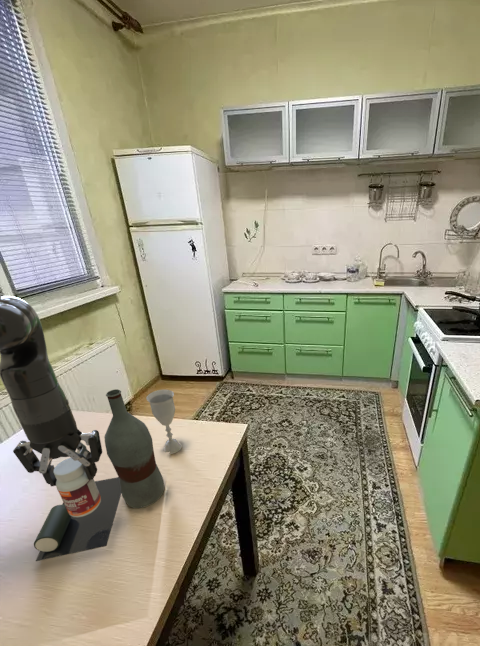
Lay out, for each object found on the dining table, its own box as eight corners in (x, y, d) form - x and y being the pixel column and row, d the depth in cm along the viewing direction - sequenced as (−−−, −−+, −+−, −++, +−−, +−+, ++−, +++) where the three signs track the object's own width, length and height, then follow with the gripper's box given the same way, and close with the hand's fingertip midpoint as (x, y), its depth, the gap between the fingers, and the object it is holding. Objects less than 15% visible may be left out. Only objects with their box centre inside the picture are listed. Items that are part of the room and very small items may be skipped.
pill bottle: (65, 522, 65) (45, 481, 60) (72, 499, 70) (54, 459, 65) (99, 513, 67) (82, 472, 62) (103, 491, 72) (88, 451, 67)
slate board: (38, 565, 65) (35, 561, 64) (73, 489, 82) (71, 485, 81) (108, 550, 67) (106, 545, 66) (127, 479, 84) (126, 475, 84)
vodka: (124, 518, 74) (83, 409, 60) (126, 490, 81) (90, 386, 68) (167, 505, 77) (137, 398, 63) (165, 478, 84) (138, 378, 71)
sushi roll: (36, 554, 65) (30, 539, 63) (53, 519, 72) (48, 505, 70) (61, 550, 66) (56, 535, 64) (75, 516, 73) (70, 502, 71)
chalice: (154, 452, 94) (140, 399, 86) (170, 438, 99) (158, 387, 91) (175, 458, 91) (162, 404, 83) (190, 443, 97) (179, 392, 89)
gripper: (-15, 429, 53) (25, 501, 61) (81, 416, 56) (108, 486, 63) (9, 405, 60) (42, 473, 67) (94, 394, 62) (117, 460, 70)
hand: (74, 479), depth 65 cm, fingers closed on pill bottle, 6 cm apart
